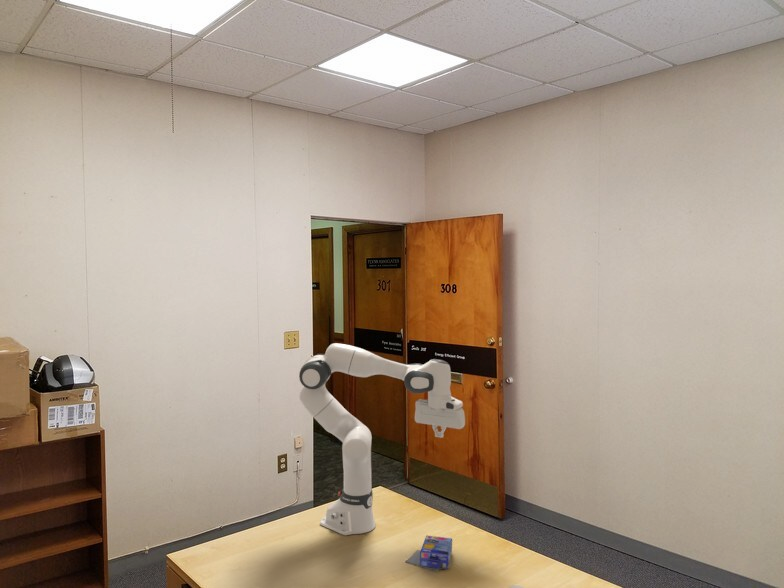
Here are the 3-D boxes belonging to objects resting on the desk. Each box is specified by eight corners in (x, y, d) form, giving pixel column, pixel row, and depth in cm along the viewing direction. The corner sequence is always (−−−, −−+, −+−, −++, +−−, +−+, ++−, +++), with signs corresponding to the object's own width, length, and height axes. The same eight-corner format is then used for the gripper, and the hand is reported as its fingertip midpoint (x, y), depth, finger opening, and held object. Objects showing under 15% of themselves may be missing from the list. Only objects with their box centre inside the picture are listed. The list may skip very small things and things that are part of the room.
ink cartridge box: (452, 537, 197) (447, 558, 183) (452, 552, 197) (447, 574, 183) (425, 534, 199) (418, 554, 185) (425, 549, 199) (418, 570, 185)
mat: (405, 562, 191) (405, 560, 191) (417, 551, 199) (417, 549, 199) (436, 571, 185) (436, 570, 185) (448, 559, 193) (448, 558, 193)
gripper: (411, 399, 215) (411, 435, 216) (460, 406, 205) (460, 442, 205) (419, 397, 221) (419, 431, 221) (466, 402, 211) (466, 438, 211)
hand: (439, 436), depth 213 cm, fingers closed
